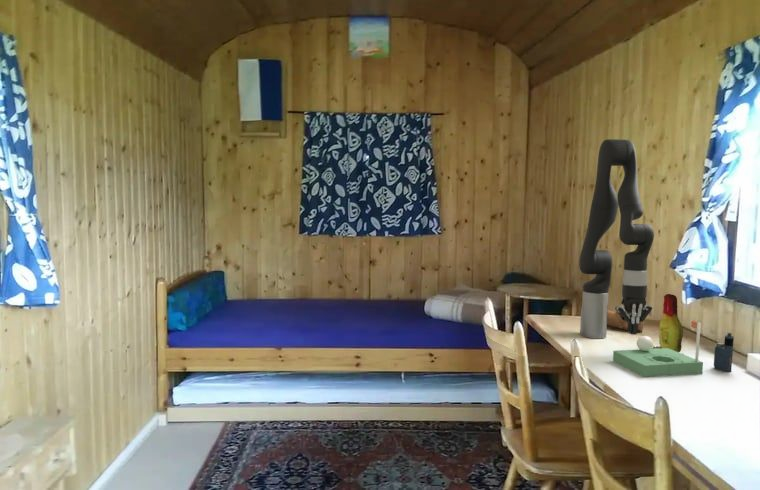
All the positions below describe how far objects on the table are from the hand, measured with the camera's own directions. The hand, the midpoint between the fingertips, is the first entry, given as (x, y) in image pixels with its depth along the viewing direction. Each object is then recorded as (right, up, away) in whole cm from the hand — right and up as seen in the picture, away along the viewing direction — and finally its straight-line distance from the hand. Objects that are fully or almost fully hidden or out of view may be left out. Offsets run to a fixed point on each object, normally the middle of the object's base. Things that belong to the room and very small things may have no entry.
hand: (632, 333), depth 193 cm
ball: (+1, -2, -6) cm, 7 cm away
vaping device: (+22, -9, -14) cm, 28 cm away
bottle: (+16, -7, +7) cm, 19 cm away
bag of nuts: (+13, -4, +40) cm, 42 cm away
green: (+2, -9, -12) cm, 15 cm away
